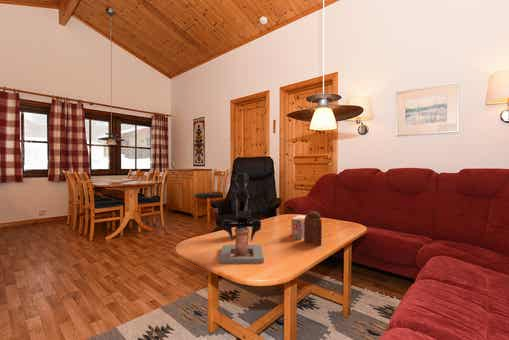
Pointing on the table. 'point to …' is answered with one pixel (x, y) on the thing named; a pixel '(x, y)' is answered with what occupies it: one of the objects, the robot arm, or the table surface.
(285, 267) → the table surface
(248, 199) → the robot arm
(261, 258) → the gray square frame
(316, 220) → the wooden figurine
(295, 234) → the stack of blocks
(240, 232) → the cord spool
